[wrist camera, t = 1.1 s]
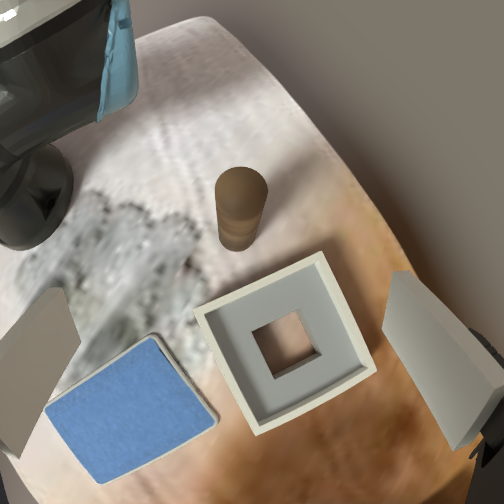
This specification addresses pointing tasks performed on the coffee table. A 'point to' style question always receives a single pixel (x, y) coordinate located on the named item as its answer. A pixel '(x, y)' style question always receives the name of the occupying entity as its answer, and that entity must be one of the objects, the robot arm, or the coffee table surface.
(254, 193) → the peg
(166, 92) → the coffee table surface
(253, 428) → the tray
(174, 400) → the blue rectangular panel
